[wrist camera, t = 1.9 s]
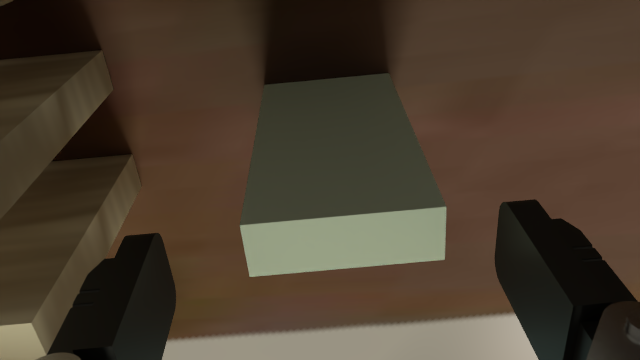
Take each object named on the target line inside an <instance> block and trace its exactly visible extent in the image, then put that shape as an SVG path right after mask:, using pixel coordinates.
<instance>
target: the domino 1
mask: <svg viewBox="0 0 640 360" xmlns="http://www.w3.org/2000/svg"><path fill="white" fill-rule="evenodd" d="M11 1H14V0H0V6H3V5H5V4H7V3H9V2H11Z"/></svg>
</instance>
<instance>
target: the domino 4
mask: <svg viewBox="0 0 640 360" xmlns="http://www.w3.org/2000/svg"><path fill="white" fill-rule="evenodd" d="M240 229H241V234H242V239H243V244H244V250H245V255H246V260H247V265H248V270H249V275H250V277H254V276H265V275H276V274H288V273H299V272H310V271H322V270H333V269H344V268H356V267H367V266H378V265H390V264H401V263H412V262H424V261H435V260H445V235H446V205H445V202H444V200H443V198H442V195H441V193H440V191H439V189H438V186H437V184H436V182H435V179H434V177H433V175H432V172H431V170H430V168H429V165H428V163H427V161H426V158H425V156H424V154H423V151H422V149H421V147H420V144H419V142H418V140H417V137H416V135H415V133H414V130H413V128H412V126H411V124H410V121H409V119H408V117H407V114H406V112H405V110H404V107H403V105H402V103H401V100H400V98H399V96H398V93H397V91H396V89H395V86H394V84H393V82H392V79H391V77H390V75H389V73H384V74H374V75H363V76H353V77H342V78H332V79H321V80H310V81H300V82H289V83H279V84H268V85H264V90H263V95H262V101H261V107H260V113H259V118H258V124H257V130H256V135H255V141H254V147H253V153H252V158H251V164H250V170H249V175H248V181H247V187H246V193H245V198H244V204H243V210H242V216H241V221H240Z"/></svg>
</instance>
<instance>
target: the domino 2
mask: <svg viewBox="0 0 640 360" xmlns="http://www.w3.org/2000/svg"><path fill="white" fill-rule="evenodd" d="M113 90H114V89H113V86H112V82H111V79H110V75H109V72H108V68H107V65H106V61H105V58H104V54H103V51H102V50H98V51H88V52H77V53H67V54H57V55H46V56H36V57H25V58H15V59H5V60H0V220H1V219H2V217H3V216H4V215H5V214H6V213H7V212H8V210H9V209H10V208H11V207H12V206H13V205H14V204H15V202H16V201H17V200H18V199H19V198H20V197H21V196H22V194H23V193H24V192H25V191H26V190H27V189H28V187H29V186H30V185H31V184H32V183H33V182H34V181H35V179H36V178H37V177H38V176H39V175H40V174H41V173H42V171H43V170H44V169H45V168H46V167H47V166H48V164H49V163H50V162H51V161H52V160H53V159H54V158H55V156H56V155H57V154H58V153H59V152H60V151H61V150H62V148H63V147H64V146H65V145H66V144H67V143H68V141H69V140H70V139H71V138H72V137H73V136H74V135H75V133H76V132H77V131H78V130H79V129H80V128H81V126H82V125H83V124H84V123H85V122H86V121H87V120H88V118H89V117H90V116H91V115H92V114H93V113H94V112H95V110H96V109H97V108H98V107H99V106H100V105H101V103H102V102H103V101H104V100H105V99H106V98H107V97H108V95H109V94H110V93H111V92H112V91H113Z"/></svg>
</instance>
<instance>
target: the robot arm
mask: <svg viewBox="0 0 640 360" xmlns="http://www.w3.org/2000/svg"><path fill="white" fill-rule="evenodd" d="M495 267H496V272H497V276H498V279H499V282H500V284H501V286H502V288H503V290H504V292H505V294H506V296H507V298H508V300H509V302H510V304H511V306H512V308H513V310H514V312H515V314H516V316H517V318H518V319H519V321H520V323H521V325H522V327H523V329H524V331H525V333H526V335H527V337H528V339H529V341H530V343H531V345H532V347H533V349H534V351H535V353H536V355H537V357H538V359H539V360H640V302H638V301H637V300H636V299H635V298H634V296H633V295H632V294H631V293H630V291H629V290H628V289H627V288H626V286H625V285H624V284H623V283H622V281H621V280H620V279H619V278H618V276H617V275H616V274H615V273H614V272H613V270H612V269H611V268H610V267H609V265H608V264H607V263H606V262H605V260H602V257H601V255H600V254H599V253H598V252H597V250H596V249H595V248H593V247H592V244H591V243H590V242H589V240H588V239H587V238H586V237H585V235H584V234H583V233H582V232H581V231H580V230H579V229H577V228H576V227H574V226H573V225H571V224H569V223H568V222H566V221H564V220H563V219H551V218H550V217H549V215H548V214H547V213H546V211H545V210H544V209H543V207H542V206H541V205H540V203H539V202H538V201H537V200H524V201H513V202H503V203H502V204H501V206H500V209H499V218H498V228H497V238H496V248H495ZM79 292H80V293H79V294H77V296H76V298H75V300H74V302H73V304H72V305H73V307H72V308H70V310H69V312H68V314H67V316H66V318H65V320H64V322H63V324H62V326H61V328H60V330H59V332H58V333H57V335H56V337H55V339H54V341H53V343H52V345H51V347H50V349H49V351H48V353H47V355H45V356H43V357H40V358H38V359H36V360H162V356H163V353H164V349H165V345H166V341H167V338H168V334H169V330H170V326H171V323H172V319H173V315H174V312H175V306H176V290H175V284H174V280H173V276H172V273H171V269H170V265H169V262H168V258H167V254H166V251H165V247H164V243H163V240H162V237H161V235H160V234H159V233H151V234H140V235H129V236H125V237H124V239H123V241H122V243H121V245H120V247H119V249H118V251H117V254H116V256H115V258H110V259H103V260H102V261H101V262H100V263H99V264H98V265H97V266H96V267H95V268H94V269H93V270H92V271H91V272H90V273H88V275H87V277H86V279H85V280H84V282H83V284H82V286H81V288H80V290H79Z"/></svg>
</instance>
